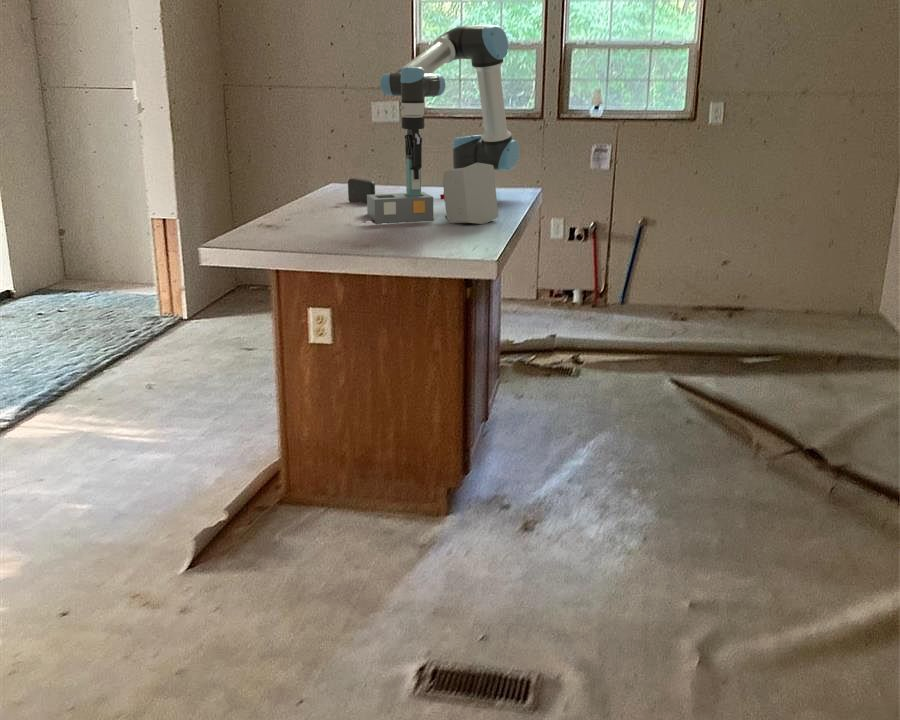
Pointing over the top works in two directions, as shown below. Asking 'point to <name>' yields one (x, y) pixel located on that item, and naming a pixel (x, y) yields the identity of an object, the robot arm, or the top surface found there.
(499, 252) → the top surface
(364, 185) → the dark grey curved block
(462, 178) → the electrical switch box
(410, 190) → the plug
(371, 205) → the junction block
